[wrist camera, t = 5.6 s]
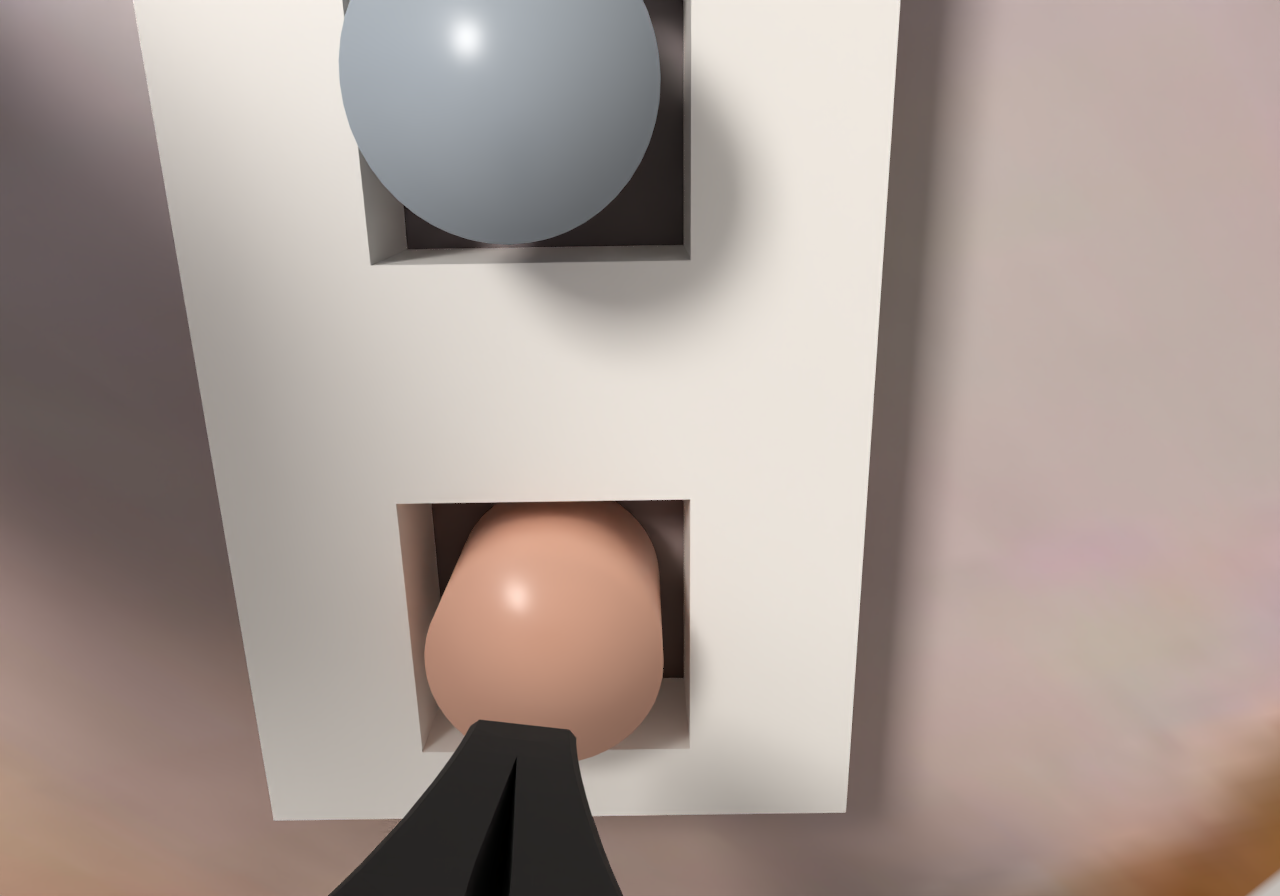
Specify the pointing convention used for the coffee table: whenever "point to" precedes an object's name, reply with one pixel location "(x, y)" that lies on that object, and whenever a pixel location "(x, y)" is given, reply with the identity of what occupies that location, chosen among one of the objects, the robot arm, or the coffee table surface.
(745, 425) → the panel
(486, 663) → the terracotta button
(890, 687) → the coffee table surface
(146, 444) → the coffee table surface
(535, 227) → the slate button
